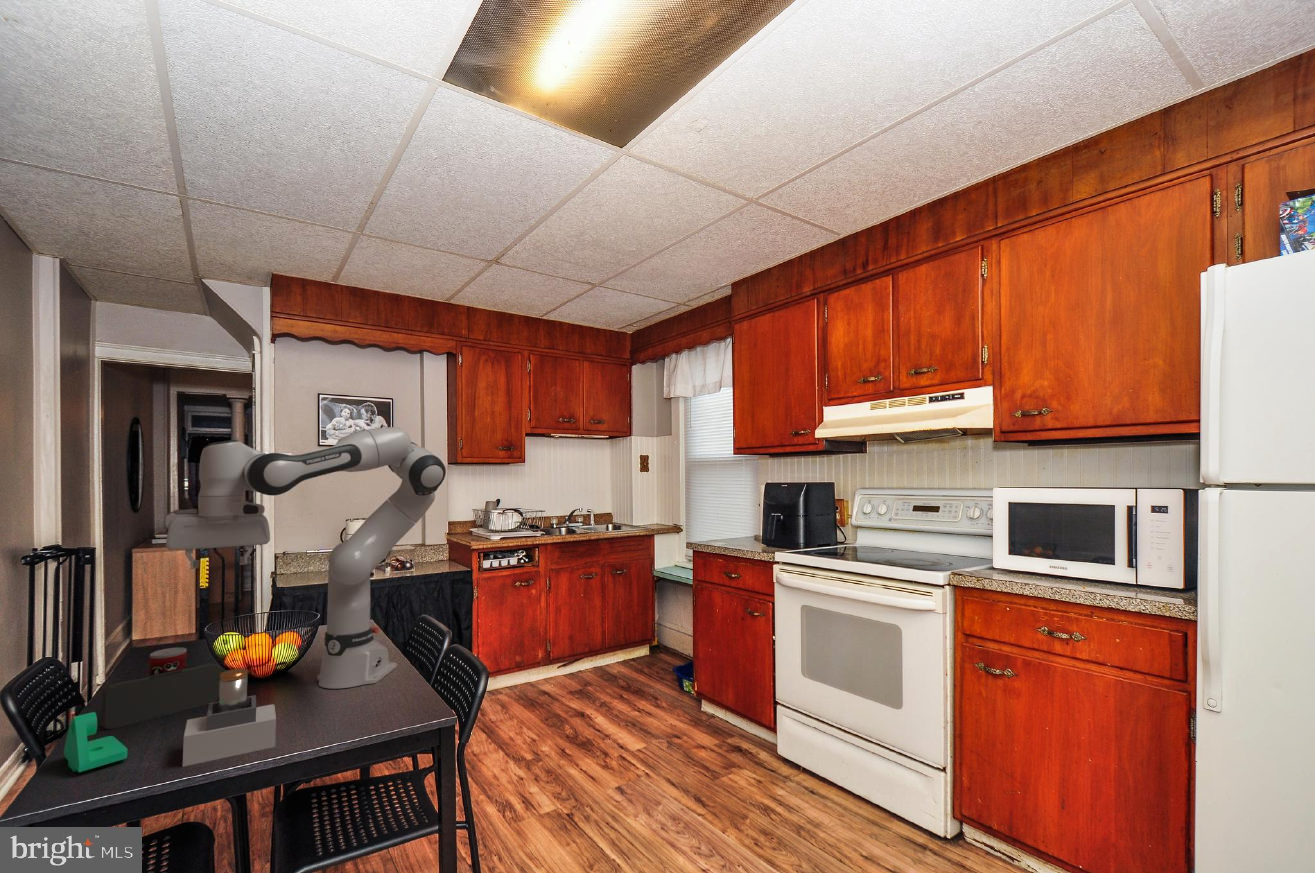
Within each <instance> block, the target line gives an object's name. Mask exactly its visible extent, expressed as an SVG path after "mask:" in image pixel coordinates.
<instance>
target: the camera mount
mask: <svg viewBox="0 0 1315 873" xmlns="http://www.w3.org/2000/svg"><path fill="white" fill-rule="evenodd" d="M97 730H98V718H97V713H96V712H95V711H92V712H87V713H83V714H79V715H75V716H72V717H71V718H70V722H69V727H68V731H67V735H66V738H65V744H64V747H63V756H64V757H65V759H66V760H67V766H68V768H70V769H71V770H72V772H73V773H74V772H75V773H76V772H78V773H82V772H86V771H88V770H92V769H95V768H99V767H102V766H104V765H105V766H106V765H108V764H111V763H112V764H113V763H115V762H119V761H122V760H125V759H126V758H127V757H128V748H127V747H126V746H125V745H124V744H123V743H122V742H121V741H119V740H118V739H117V738H116V737H115V736H114V735H110V736H109V735H108V736H104V737H101V738H97V739H93V740H88V736H91V735H92V736H93V735H95V734H96V733H97Z"/></svg>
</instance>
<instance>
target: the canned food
mask: <svg viewBox="0 0 1315 873" xmlns="http://www.w3.org/2000/svg"><path fill="white" fill-rule="evenodd" d="M148 660H149V661H148V662H149V663H148V676H151V675H155V674H160V673H165V672H170V671H174V670H179V669H184V668H187V648H186V647H169V648H162V649H159V650H156V651H153V652H151V653H150V654H149V659H148Z"/></svg>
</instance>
